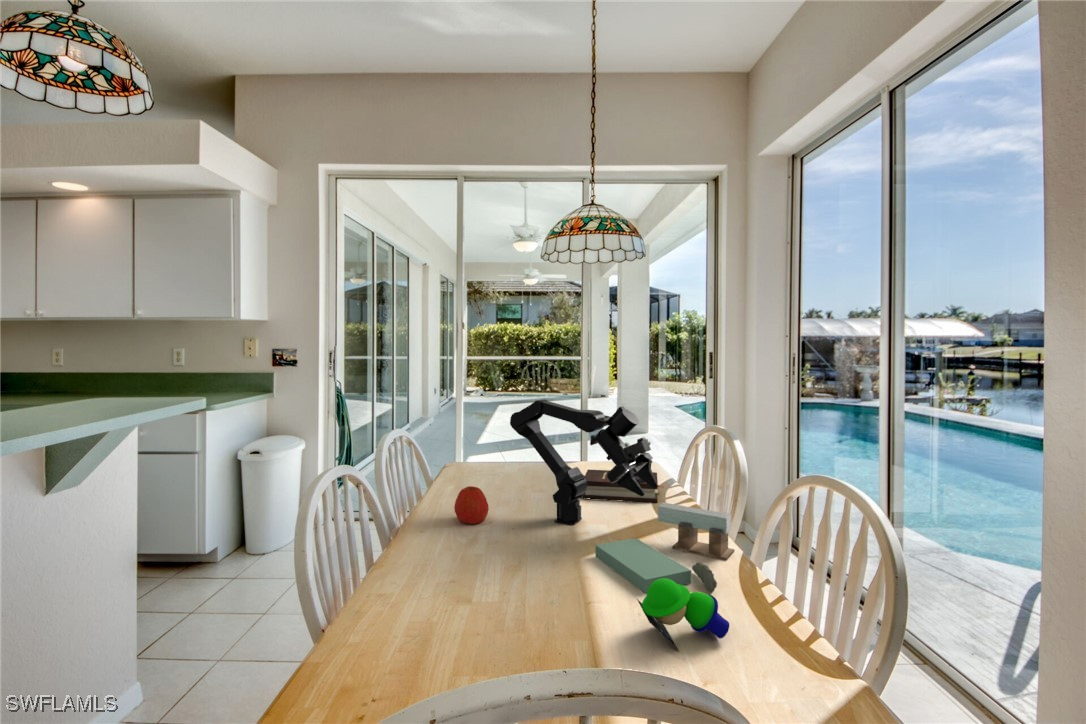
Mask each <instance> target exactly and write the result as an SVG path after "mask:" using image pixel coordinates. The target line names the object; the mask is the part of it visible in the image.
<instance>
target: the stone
mask: <svg viewBox="0 0 1086 724" xmlns="http://www.w3.org/2000/svg"><path fill="white" fill-rule="evenodd" d="M691 569H692V570H691V571H693V572H694V574H695V575H696V576H697V578H699V580H700V581H701V583H702V584H703V586H704V587H705V589H706V590H707V592H708V593H710V594H712V593H714V591H715V589H716V588H717V586H718V585H717V584H718V582H717V580H716V579H715V576H714V573H713V571H712V569H710V567H709V566H708V565H707V564H704V563H703V562H701V561H700V562H698V561H697V562H695V564H692V566H691Z"/></svg>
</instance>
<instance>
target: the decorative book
mask: <svg viewBox="0 0 1086 724" xmlns="http://www.w3.org/2000/svg"><path fill="white" fill-rule="evenodd" d="M610 470H611V469H609V470H607V469H606V470H605V469H587V471H586V473H585V475H584V476H586V478H585V479H586V481H587V490H586V491H585V493H583V496H582V498H590V499H589V500H591V499H606V500H605V501H610V500H623V501H622V502H628V501H632V503H649V504H659V503H658V499H659V498H658V497H659V496H658V494H659V490H658V489H663V488H664V486H665V485H664V484H660V485H659V484H658V483H659V481H658V472H653V471H652V473H653V475H654V477H655V480H656V482H657V484H658V488H656V489H655V488H653V487H652V486H650V485H649V484H647V483H646V482H645V481H643V480H642V479H641V478H639V477H638V476H636V475H635V474H636V473H637V472H634V478H635V479H636V481H637V482H638V484H639V485H640V487H641V488H642V490H643V491H644V493H645V495H644V496H640V495H638V494H636V493H634V492H632V491H630V490H628V489H626V488H624V487H622V486H619V485H616V484H615V483H616V482H617V481H618V480H617V481H616V482H614V483H612V484H611V482H610V481H609V480H608V479H607V473H608V472H609V471H610ZM582 498H581V499H582Z"/></svg>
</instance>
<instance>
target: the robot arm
mask: <svg viewBox="0 0 1086 724" xmlns="http://www.w3.org/2000/svg"><path fill="white" fill-rule="evenodd" d="M544 415H545V416H547V417H551V418H555V419H558V420H561V421H565V422H568V423H571V424H573V425H574V426H575V427H576V428H577V429H579V430H581V431H583V432H585V433H593V432H596V431H597V433H596V434H593V435H590V441H589V445H590V446H593V445H597V444H598V445H599V447H601V449H602V450H603V451H604V452H605V454H606V455H607V456H606V459H607V461H610V460H611V461H612V462H613V464H614V465H615V466H613V467H612V468H611V469H609V470H610V471H609V472H608V473H607V479H608V480H609V481H610V482H611V484H612V483H614V482H616V481H617V480H618V481H617V482H616V483H615V484H616V485H619V486H622V487H624V488H626V489H628V490H630V491H632V492H634V493H636V494H638V495H640V496H644V495H645V493H644V491H643V490H642V488H641V487H640V485H639V484H638V482H637V481H636V479H635V478H634V472H637V473H636V474H635V475H636V476H638V477H639V478H641V479H642V480H643V481H645V482H646V483H647V484H649V485H650V486H652V487H653V488H655V489H656V488H658V485H659V484H657V482H656V480H655V477H654V475H653V473H652V472H653V470H652V463H653V460H652V459H653V456H652V455H651V454H650V453H649V451H652V448H651V441H649V439H647V438H646V437H645V436H643V437H642V436H641V437H640V438H637V439H636V443H634V444H630V443H629V442H623V440H622V438H625V437H626V436H627V435H628V434H629V433H630V432H631V431H633V429H635V427H636V426H637V425H638V424H639V423H640V422H639V419H638V416H637V415H636V414H635V413H633V412H632V411H630V410H629V409H626V408H625V406H623V405H622V406H619V407H618V408H617V409H616V411H615V412H614V413H613V414H612V415H611V416H609V415H606V414H604V412H602V411H601V410H595V409H594V410H593V409H577V408H574V407H570V406H567V405H563V404H559V403H556V402H553V401H549V400H548V399H545V398H544V399H542V398H541V399H537V400H534V402H532V403H531V404H530V405H528V406H526V407H524V408H523V409H521V410H519V411H516V412H514V413H512V414H511V415H510V419H509V420H510V421H509V424H510V427H511V428H512V429H513V431H515V432H516V433H517V434H518V435H519V436H522V437H523V438H525V439H526V440H527V441H528V442H529V443H530V445H531V446H532V447H533V448H534V450H536V452H537V454H539V456H540V458H541V459H542V460H543V462H544V463H545V464H546V465H547V467H548V468H549V469H550V471H551V472H552V473H553V475H554V477H555V483H556V486H557V488H558V490H557V491H555V492H554V494H552V499H553V502H554V503H556V518H555V519H554V520H553V521H554V522H555V523H559V524H566V525H573V526H575V525H576V524H577V523H579V521H580V522H581V520H582V519H583V518H582V505H580V504H581V503H580V501H581V500H580V499H582V496H583V493H585V491H586V490H587V481H586V479H585V478H586V476H585V475H584V473H582V471H581V469H580V468H579V467H578V466H575V467H573V468H572V467H570V466H569V465H568V464H567V463H566V462H565V460H564V459H563V457H562V456H561V455H560V454H559V452H558V450H556V449H555V447H554V446H553V445H552V443H551V442H550V441H549V440H548V438H547V436H545V434H544V433H543V431H542V430H541V425H540V421H539V420H540V419H541V418H542V417H543V416H544ZM605 427H606V428H605ZM604 428H605V429H604ZM620 437H622V438H620ZM658 489H659V488H658Z"/></svg>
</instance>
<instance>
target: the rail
mask: <svg viewBox="0 0 1086 724" xmlns="http://www.w3.org/2000/svg"><path fill="white" fill-rule="evenodd" d="M657 514H658V515H657V521H658V522H661V523H662V522H663V523H668V524H672V525H676V526H678V523H684V524H689V525H691V527H692V528H697V529H698V530H702V531H708V532H709V529H715V530H720V531H722V534H727V533H728V534H729V533H730V531H731V530H732V514H731V513H726V512H720V511H713V510H709V509H703V508H697V507H691V506H686V505H681V504H680V505H679V504H675V503H670V502H669V503H668V502H663V503H661V504H660V505H658V509H657Z"/></svg>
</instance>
